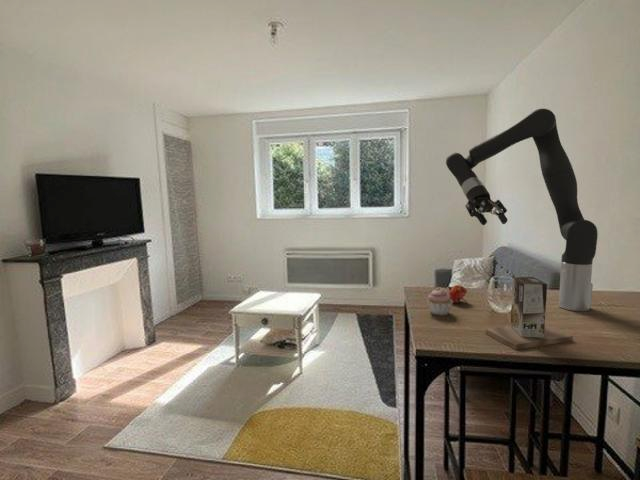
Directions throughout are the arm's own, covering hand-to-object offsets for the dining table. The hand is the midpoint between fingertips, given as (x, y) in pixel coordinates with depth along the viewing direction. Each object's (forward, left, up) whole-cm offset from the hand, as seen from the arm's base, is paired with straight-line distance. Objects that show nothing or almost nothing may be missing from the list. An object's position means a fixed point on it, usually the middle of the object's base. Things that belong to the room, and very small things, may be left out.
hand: (495, 223), depth 126 cm
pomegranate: (+6, -12, -33) cm, 36 cm away
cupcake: (+20, -3, -33) cm, 39 cm away
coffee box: (+7, +23, -31) cm, 40 cm away
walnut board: (+7, +24, -33) cm, 41 cm away
